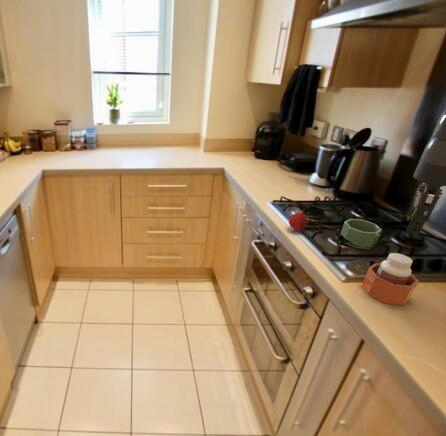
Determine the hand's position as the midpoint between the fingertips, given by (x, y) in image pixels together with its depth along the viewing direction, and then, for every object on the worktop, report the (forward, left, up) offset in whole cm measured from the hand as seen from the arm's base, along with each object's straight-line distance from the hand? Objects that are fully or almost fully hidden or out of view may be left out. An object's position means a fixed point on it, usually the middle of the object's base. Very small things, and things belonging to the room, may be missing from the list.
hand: (413, 226), depth 75 cm
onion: (+13, -31, -20) cm, 40 cm away
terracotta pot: (-1, 0, -20) cm, 20 cm away
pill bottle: (-1, 0, -20) cm, 20 cm away
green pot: (-5, -27, -20) cm, 34 cm away
